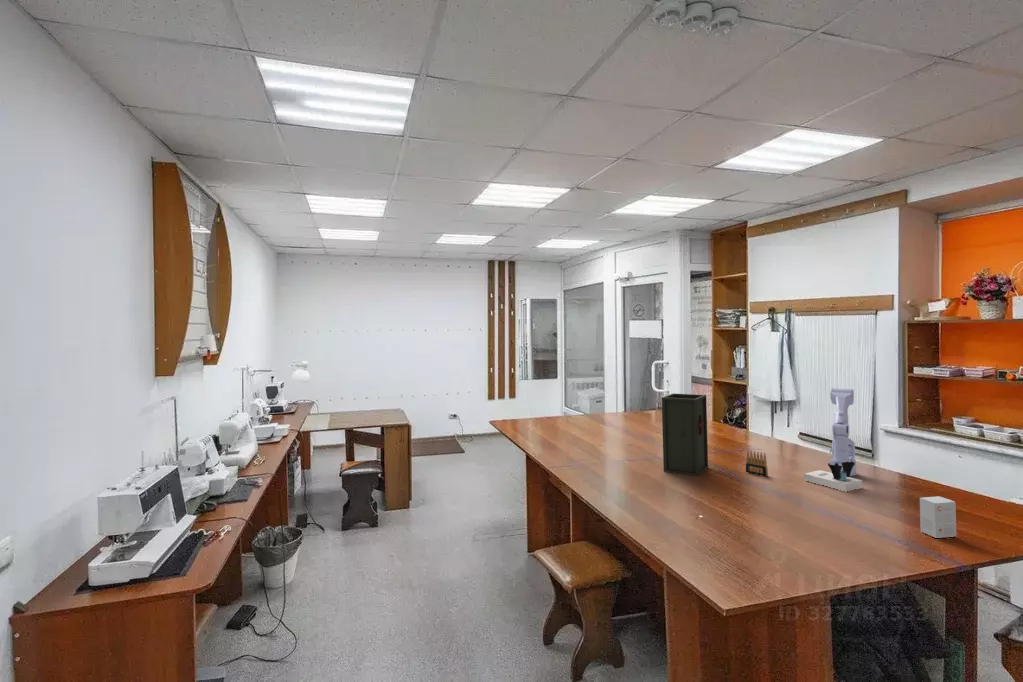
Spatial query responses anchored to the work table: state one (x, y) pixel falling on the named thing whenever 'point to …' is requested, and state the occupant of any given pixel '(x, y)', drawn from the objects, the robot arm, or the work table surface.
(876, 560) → the work table surface
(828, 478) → the bore block
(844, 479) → the teal cylinder
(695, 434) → the dark green bin
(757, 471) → the ammunition clip
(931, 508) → the small box
